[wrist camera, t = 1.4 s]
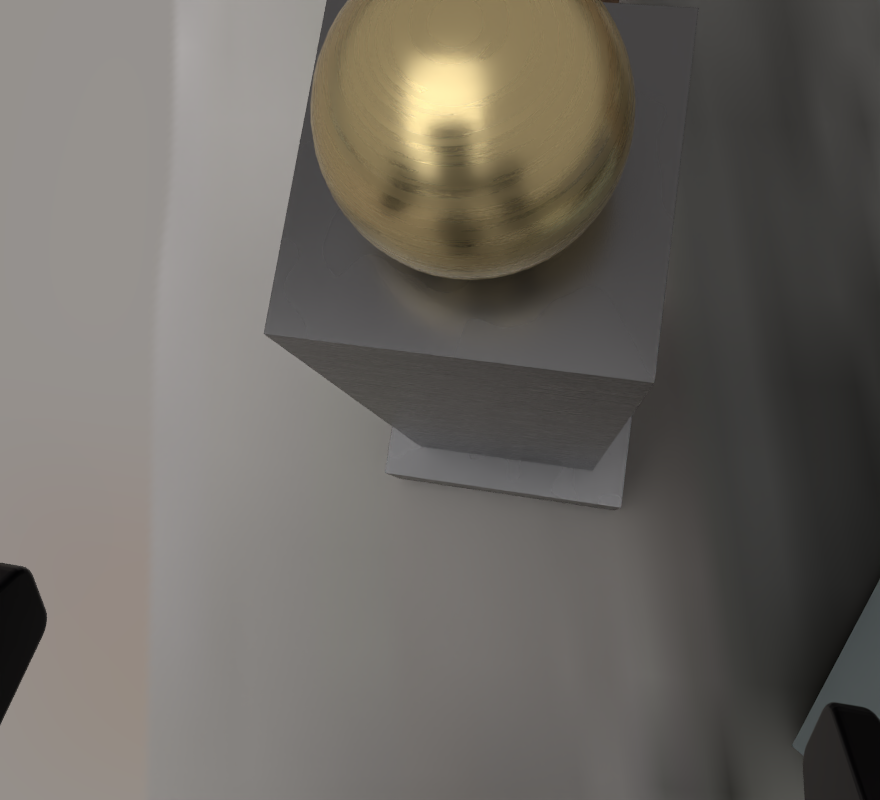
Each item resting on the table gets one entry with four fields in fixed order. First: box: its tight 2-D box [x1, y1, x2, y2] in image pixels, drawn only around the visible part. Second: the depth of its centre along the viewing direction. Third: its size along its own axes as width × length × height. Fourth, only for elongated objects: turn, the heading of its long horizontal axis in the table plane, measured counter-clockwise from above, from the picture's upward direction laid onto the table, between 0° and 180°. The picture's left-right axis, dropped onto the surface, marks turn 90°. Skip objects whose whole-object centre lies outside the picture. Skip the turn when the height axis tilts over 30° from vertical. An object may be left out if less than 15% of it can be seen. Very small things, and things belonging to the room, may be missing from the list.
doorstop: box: [264, 0, 699, 510], centre depth 15 cm, size 6×6×17 cm
